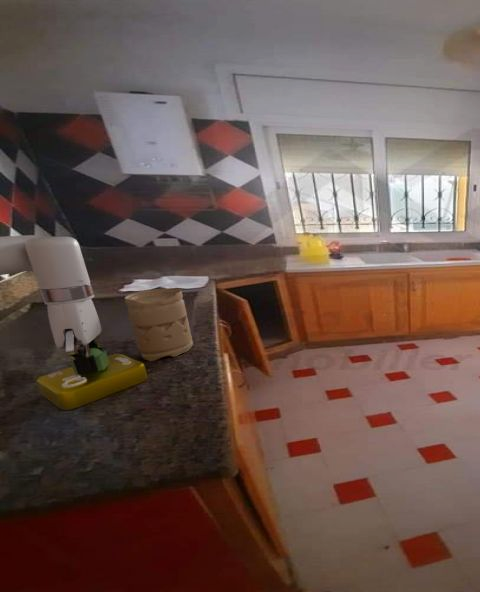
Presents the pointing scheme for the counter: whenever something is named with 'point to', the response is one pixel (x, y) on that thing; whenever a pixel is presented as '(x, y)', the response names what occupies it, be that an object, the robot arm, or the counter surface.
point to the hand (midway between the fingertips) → (92, 367)
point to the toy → (96, 359)
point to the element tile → (91, 382)
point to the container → (159, 323)
